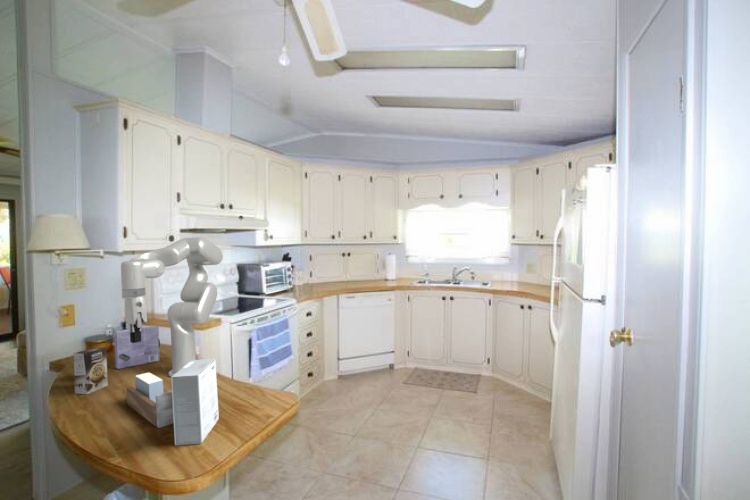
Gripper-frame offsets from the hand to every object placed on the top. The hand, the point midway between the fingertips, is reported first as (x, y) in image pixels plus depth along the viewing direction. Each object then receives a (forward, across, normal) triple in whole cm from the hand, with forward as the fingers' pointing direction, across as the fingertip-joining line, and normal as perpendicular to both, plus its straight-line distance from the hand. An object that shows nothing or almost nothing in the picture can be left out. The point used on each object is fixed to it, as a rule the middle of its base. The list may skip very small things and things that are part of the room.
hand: (135, 341), depth 144 cm
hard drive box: (+21, -46, -2) cm, 51 cm away
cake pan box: (+21, +48, -15) cm, 55 cm away
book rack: (+21, -18, 0) cm, 28 cm away
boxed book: (+21, -12, 0) cm, 24 cm away
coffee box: (+21, +25, +9) cm, 34 cm away
